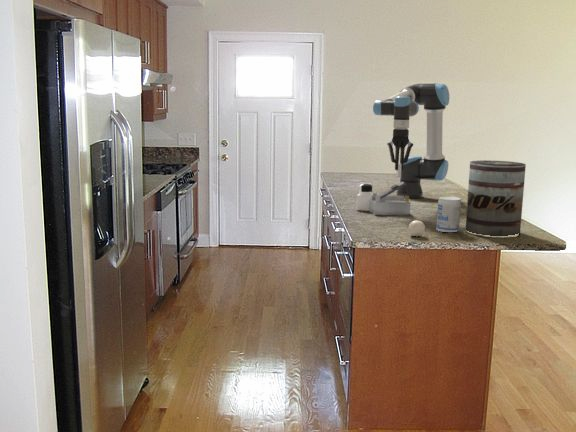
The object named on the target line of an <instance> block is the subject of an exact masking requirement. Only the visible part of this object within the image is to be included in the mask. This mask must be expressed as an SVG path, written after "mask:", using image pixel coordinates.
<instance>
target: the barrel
mask: <svg viewBox="0 0 576 432" xmlns="http://www.w3.org/2000/svg"><path fill="white" fill-rule="evenodd" d="M526 165H527V164H526V163H523V162H517V161H510V160H509V161H508V160H489V159H487V160H472V161H469V170H468V171H469V173H468V187H467V203H466V215H465V216H466V217H465V230H467V231H469V232H472V233H476V234H482V235H490V236H508V235H515V234H518V233H520V234H521V225H522V215H523V214H522V213H523V203H524V201H523V200H524V190H525V178H526V167H527V166H526Z"/></svg>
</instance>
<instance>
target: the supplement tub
mask: <svg viewBox="0 0 576 432" xmlns="http://www.w3.org/2000/svg"><path fill="white" fill-rule="evenodd" d="M461 209H462V199H461V198H460V197H457V196H446V195H445V196H440V197H438V201H437V215H436V228H435V229H436V230H435V231H437V230H438V231H437V232H439V231H442V232H457V231H458V232H459V231H460V230H459V229H460V220H461ZM442 232H441V233H442ZM458 232H457V233H458Z"/></svg>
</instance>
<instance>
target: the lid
mask: <svg viewBox="0 0 576 432" xmlns="http://www.w3.org/2000/svg"><path fill="white" fill-rule="evenodd" d="M405 185H406V184H405V183H404V182H401V183H400V182H399V183H398V184H394V185H392V186H390V188H389V189H387V190H386V191H383V192H382V193H379V195H380V199H382V198H384V197H386V196H390V194H392V193H394V192H397V190H398V189H400V188H401V187H403V186H405ZM375 198H376V197H375Z"/></svg>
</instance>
